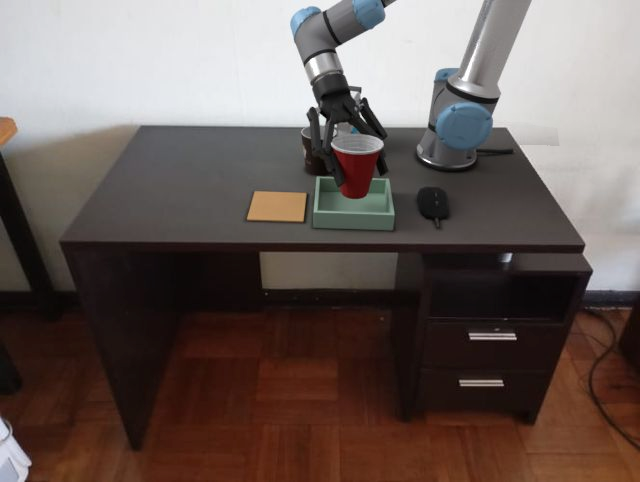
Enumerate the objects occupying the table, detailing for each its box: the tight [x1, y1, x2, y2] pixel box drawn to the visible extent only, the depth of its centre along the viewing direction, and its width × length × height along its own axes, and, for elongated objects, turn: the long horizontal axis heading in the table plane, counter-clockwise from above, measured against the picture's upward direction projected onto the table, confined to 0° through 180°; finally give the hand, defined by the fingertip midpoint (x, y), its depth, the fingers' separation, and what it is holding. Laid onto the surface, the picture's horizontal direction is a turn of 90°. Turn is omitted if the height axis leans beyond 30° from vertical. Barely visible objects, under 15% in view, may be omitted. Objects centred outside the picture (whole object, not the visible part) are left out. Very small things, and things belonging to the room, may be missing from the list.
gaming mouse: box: [417, 186, 449, 229], centre depth 110 cm, size 6×15×4 cm, turn 177°
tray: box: [312, 175, 396, 231], centre depth 110 cm, size 17×16×4 cm
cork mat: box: [246, 190, 307, 224], centre depth 111 cm, size 12×12×1 cm
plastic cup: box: [331, 133, 385, 199], centre depth 105 cm, size 11×11×12 cm
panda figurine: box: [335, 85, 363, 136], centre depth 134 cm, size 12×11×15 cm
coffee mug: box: [300, 124, 338, 176], centre depth 125 cm, size 12×9×10 cm
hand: (363, 179), depth 104 cm, fingers closed on plastic cup, 10 cm apart
